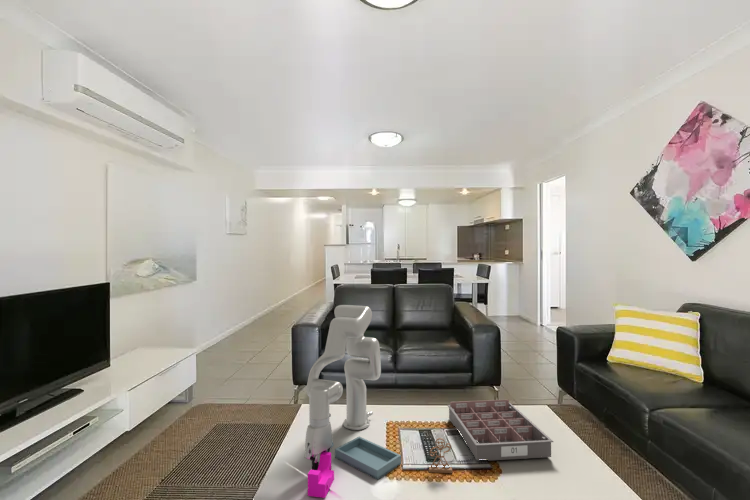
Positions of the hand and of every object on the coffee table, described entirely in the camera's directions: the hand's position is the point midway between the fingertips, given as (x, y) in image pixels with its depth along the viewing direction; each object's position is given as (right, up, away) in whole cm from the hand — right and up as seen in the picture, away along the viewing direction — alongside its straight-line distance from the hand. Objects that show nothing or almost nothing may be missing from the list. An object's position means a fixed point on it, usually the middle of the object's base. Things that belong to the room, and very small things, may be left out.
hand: (319, 468), depth 145 cm
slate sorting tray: (+18, -1, +8) cm, 20 cm away
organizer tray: (+74, -2, +26) cm, 79 cm away
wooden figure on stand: (+46, -2, +2) cm, 46 cm away
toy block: (+2, -2, -7) cm, 7 cm away
